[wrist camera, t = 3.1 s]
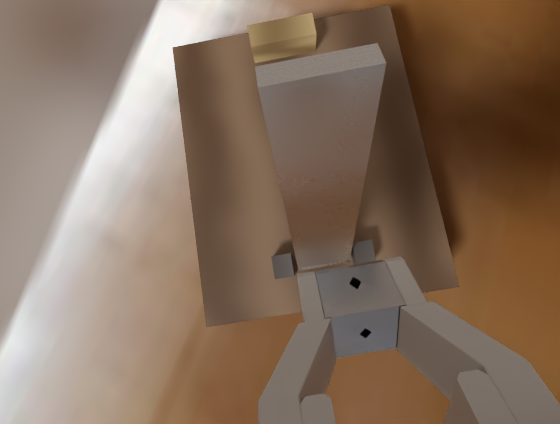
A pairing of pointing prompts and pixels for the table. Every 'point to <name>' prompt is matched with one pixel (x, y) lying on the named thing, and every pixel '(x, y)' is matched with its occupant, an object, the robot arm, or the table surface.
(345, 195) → the strap
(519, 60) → the table surface
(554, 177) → the table surface
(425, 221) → the base
